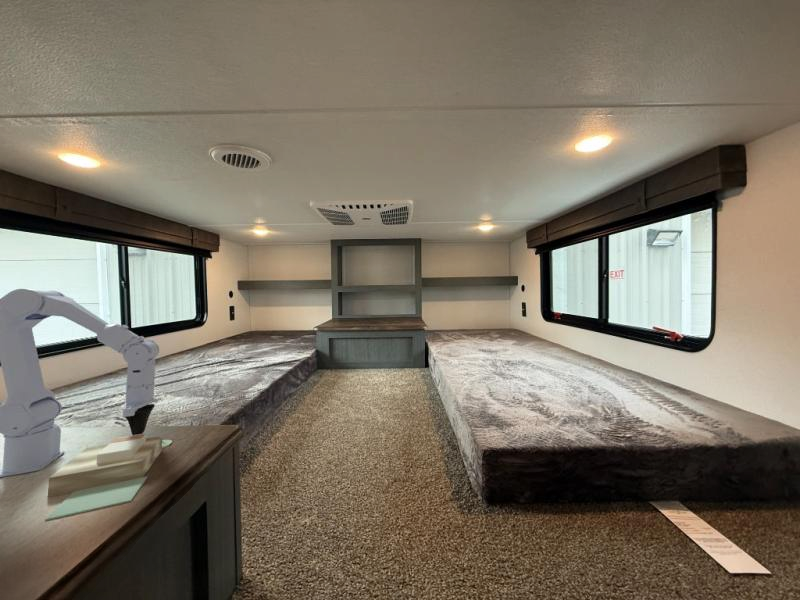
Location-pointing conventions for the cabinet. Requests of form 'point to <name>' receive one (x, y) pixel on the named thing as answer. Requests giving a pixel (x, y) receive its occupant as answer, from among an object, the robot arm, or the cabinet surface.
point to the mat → (98, 498)
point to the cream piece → (103, 468)
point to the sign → (166, 443)
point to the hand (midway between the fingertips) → (138, 433)
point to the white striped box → (121, 448)
